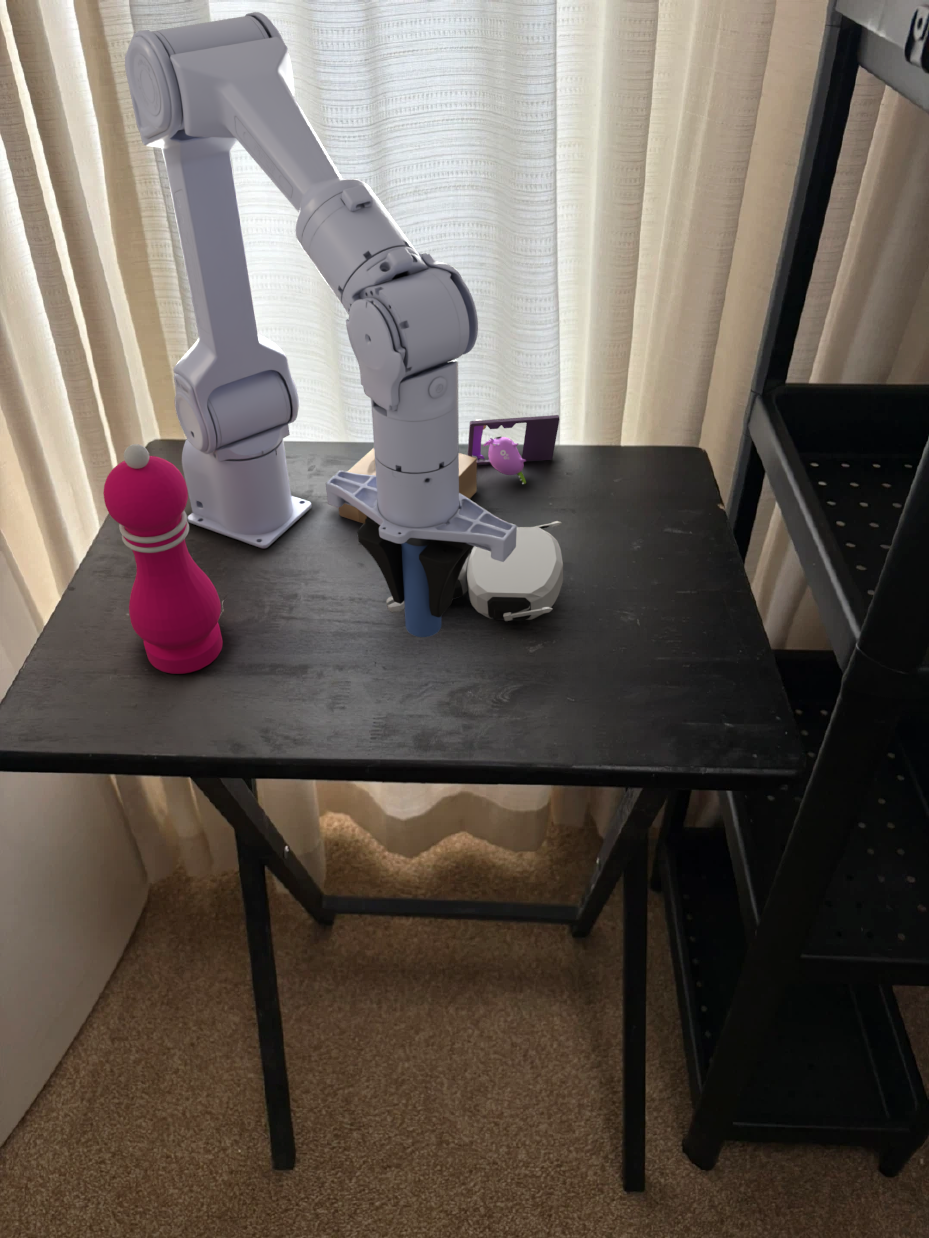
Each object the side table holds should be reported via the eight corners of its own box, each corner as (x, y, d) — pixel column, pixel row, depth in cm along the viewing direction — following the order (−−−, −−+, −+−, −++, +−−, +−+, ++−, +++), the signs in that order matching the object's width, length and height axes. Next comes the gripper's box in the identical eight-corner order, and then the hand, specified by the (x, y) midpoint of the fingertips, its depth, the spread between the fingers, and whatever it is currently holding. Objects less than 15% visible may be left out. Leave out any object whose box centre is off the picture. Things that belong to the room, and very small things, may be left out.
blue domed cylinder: (398, 630, 80) (392, 522, 73) (417, 609, 82) (412, 502, 75) (430, 642, 79) (426, 533, 72) (447, 620, 81) (446, 513, 74)
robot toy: (385, 638, 89) (559, 644, 87) (378, 598, 86) (558, 603, 84) (409, 551, 98) (567, 554, 96) (403, 512, 95) (567, 515, 93)
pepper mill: (228, 615, 90) (186, 415, 77) (229, 673, 85) (184, 468, 72) (144, 625, 89) (86, 424, 76) (139, 684, 84) (76, 479, 71)
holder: (339, 515, 101) (335, 481, 98) (392, 465, 108) (390, 432, 105) (427, 545, 98) (426, 510, 95) (476, 491, 104) (477, 457, 102)
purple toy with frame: (558, 409, 103) (468, 415, 102) (566, 450, 101) (475, 457, 100) (550, 451, 109) (466, 457, 108) (558, 491, 107) (472, 497, 106)
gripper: (294, 451, 70) (313, 602, 79) (484, 511, 65) (482, 665, 74) (350, 403, 74) (363, 552, 83) (532, 456, 69) (525, 608, 78)
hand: (422, 601), depth 79 cm, fingers closed on blue domed cylinder, 3 cm apart
